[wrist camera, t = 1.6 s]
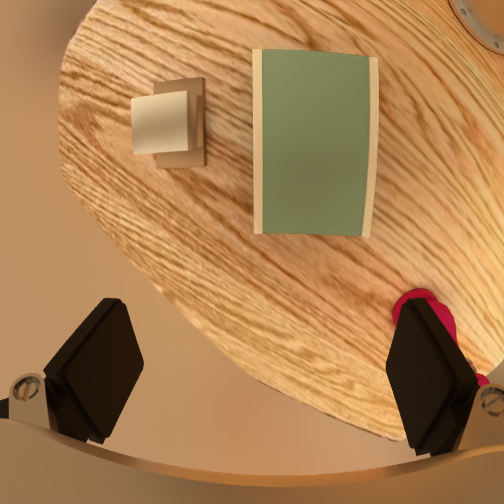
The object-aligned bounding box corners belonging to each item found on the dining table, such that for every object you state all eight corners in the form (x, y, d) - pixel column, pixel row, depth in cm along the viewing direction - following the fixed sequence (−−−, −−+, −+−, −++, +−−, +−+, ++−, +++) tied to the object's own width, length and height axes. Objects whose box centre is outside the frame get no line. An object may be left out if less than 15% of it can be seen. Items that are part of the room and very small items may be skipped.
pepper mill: (443, 282, 31) (526, 398, 13) (431, 328, 34) (489, 446, 16) (393, 286, 32) (463, 422, 14) (384, 334, 35) (429, 467, 17)
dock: (255, 57, 24) (252, 49, 21) (367, 64, 23) (377, 57, 20) (256, 222, 31) (253, 233, 28) (361, 226, 30) (369, 237, 27)
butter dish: (158, 84, 26) (131, 77, 20) (205, 79, 26) (186, 67, 20) (161, 167, 30) (135, 177, 24) (206, 165, 29) (189, 174, 23)
